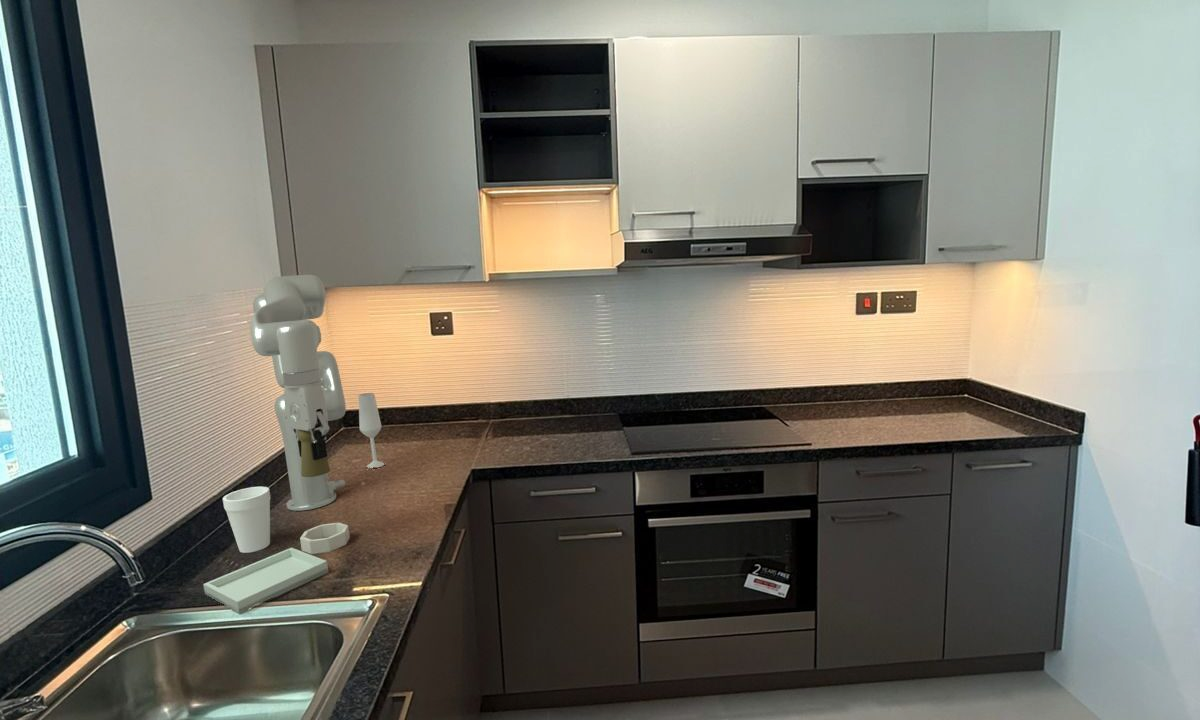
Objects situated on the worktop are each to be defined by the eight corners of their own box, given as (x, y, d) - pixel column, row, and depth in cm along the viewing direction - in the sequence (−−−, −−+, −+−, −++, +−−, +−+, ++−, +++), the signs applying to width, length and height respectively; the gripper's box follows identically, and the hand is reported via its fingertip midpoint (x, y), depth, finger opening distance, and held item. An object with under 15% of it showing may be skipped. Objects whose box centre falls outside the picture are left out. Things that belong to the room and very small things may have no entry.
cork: (301, 471, 144) (295, 425, 142) (330, 466, 146) (323, 421, 145) (300, 479, 138) (293, 431, 137) (330, 473, 141) (323, 426, 139)
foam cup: (284, 536, 151) (276, 485, 149) (265, 553, 142) (256, 499, 140) (244, 539, 151) (236, 488, 149) (223, 557, 142) (213, 502, 140)
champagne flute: (383, 468, 200) (373, 395, 197) (361, 470, 200) (352, 397, 197) (388, 462, 207) (379, 391, 204) (368, 463, 207) (359, 393, 203)
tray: (292, 558, 138) (291, 547, 138) (328, 572, 130) (327, 561, 130) (205, 595, 124) (203, 584, 124) (239, 614, 116) (237, 601, 115)
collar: (333, 532, 151) (331, 520, 151) (356, 539, 146) (355, 527, 145) (295, 548, 144) (293, 535, 143) (318, 556, 138) (316, 544, 138)
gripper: (266, 379, 141) (278, 457, 144) (307, 383, 131) (319, 466, 134) (298, 373, 147) (308, 448, 150) (339, 377, 137) (350, 456, 140)
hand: (313, 456), depth 142 cm, fingers closed on cork, 4 cm apart
